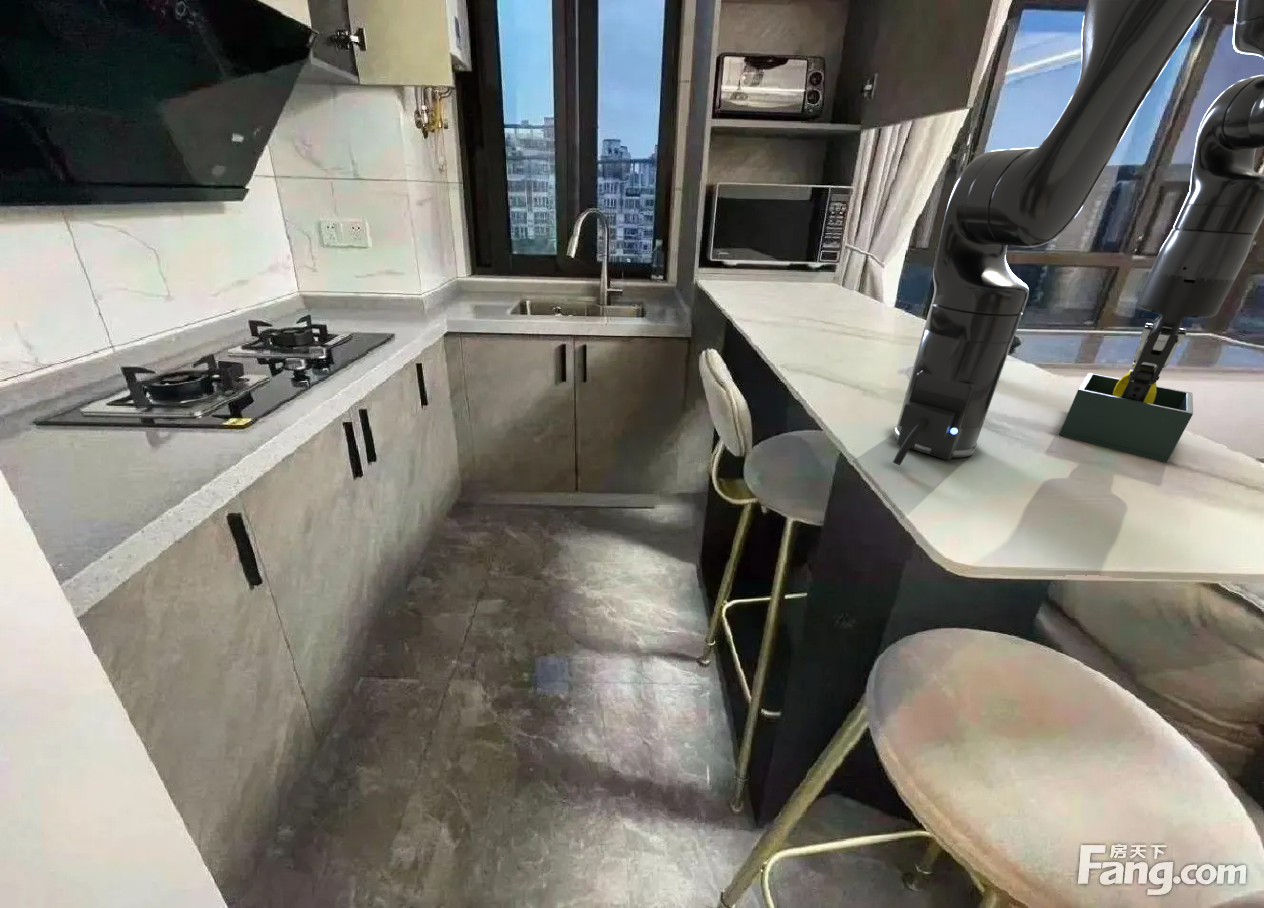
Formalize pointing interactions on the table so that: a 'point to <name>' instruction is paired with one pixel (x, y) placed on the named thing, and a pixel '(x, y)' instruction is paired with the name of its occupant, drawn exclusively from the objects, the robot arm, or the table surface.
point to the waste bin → (1128, 419)
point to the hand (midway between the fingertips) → (1129, 403)
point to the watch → (1123, 383)
